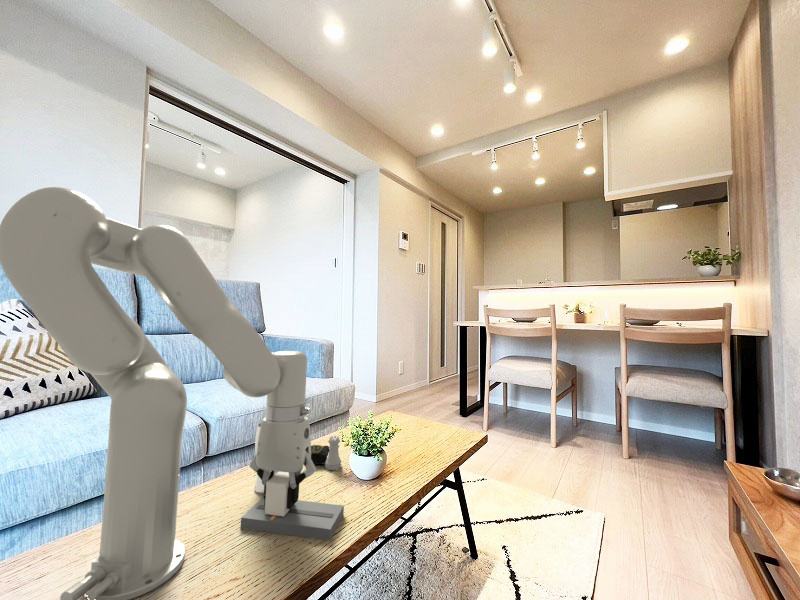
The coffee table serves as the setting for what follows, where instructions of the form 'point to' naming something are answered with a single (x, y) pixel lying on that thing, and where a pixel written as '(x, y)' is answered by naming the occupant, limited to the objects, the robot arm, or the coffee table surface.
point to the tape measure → (319, 454)
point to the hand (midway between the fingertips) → (280, 503)
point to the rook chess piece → (333, 454)
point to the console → (296, 519)
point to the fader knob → (277, 494)
